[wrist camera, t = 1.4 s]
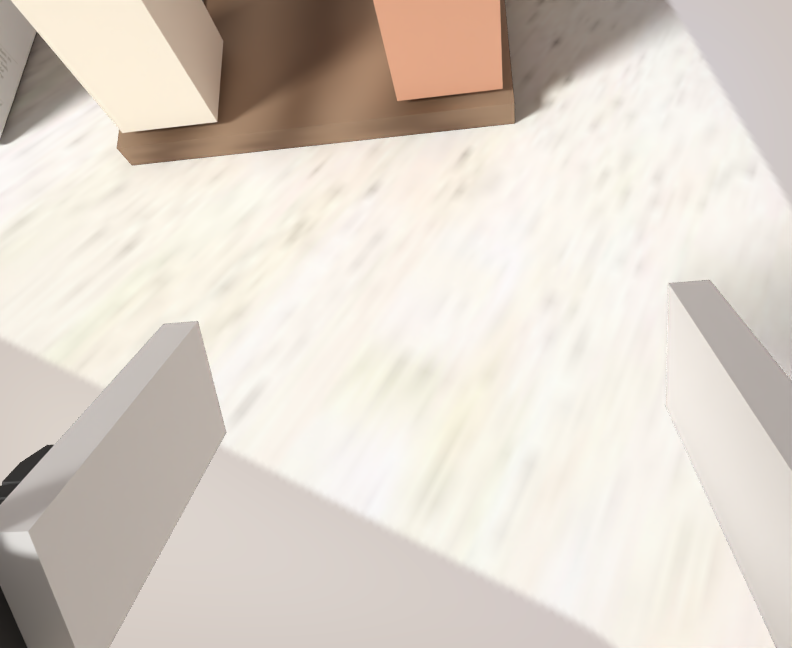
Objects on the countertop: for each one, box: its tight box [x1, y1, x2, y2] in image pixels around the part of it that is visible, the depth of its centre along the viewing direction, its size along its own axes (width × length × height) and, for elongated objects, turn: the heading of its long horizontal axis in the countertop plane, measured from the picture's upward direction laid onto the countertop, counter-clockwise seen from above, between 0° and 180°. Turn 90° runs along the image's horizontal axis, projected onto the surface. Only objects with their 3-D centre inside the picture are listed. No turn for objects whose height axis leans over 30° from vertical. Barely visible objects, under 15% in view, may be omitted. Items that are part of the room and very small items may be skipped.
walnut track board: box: [117, 0, 515, 165], centre depth 40 cm, size 20×14×2 cm
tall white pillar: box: [11, 0, 223, 133], centre depth 34 cm, size 5×5×9 cm
